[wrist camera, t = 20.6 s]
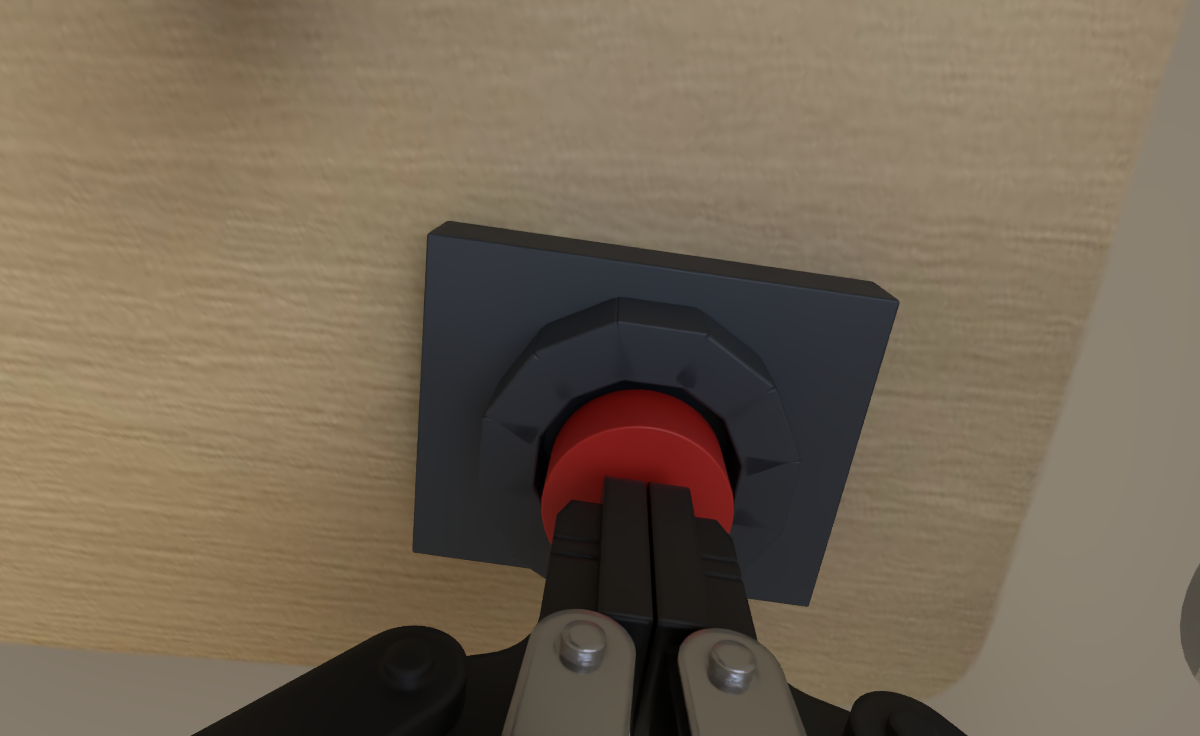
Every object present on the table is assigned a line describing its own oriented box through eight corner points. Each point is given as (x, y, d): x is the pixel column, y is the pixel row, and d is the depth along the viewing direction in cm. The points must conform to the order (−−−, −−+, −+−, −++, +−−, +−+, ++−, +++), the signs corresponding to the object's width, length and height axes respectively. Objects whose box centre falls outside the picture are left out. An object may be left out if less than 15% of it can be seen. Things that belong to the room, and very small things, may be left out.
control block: (874, 281, 16) (936, 326, 13) (794, 566, 19) (828, 661, 16) (447, 220, 16) (399, 249, 13) (429, 515, 19) (388, 601, 16)
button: (738, 401, 14) (753, 440, 12) (704, 550, 15) (713, 604, 14) (561, 376, 14) (551, 412, 12) (541, 528, 15) (531, 579, 14)
